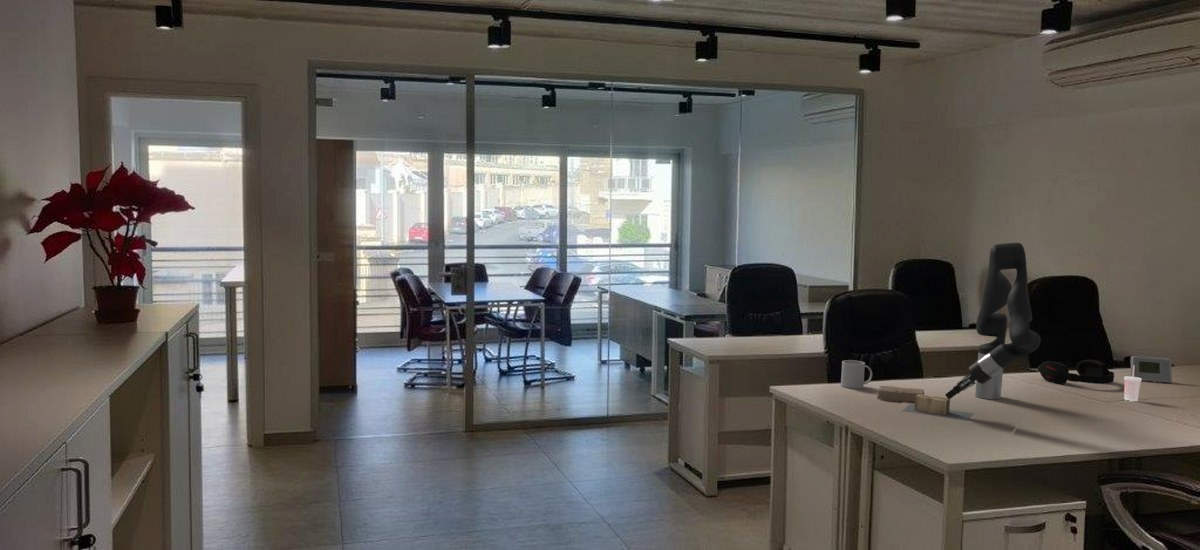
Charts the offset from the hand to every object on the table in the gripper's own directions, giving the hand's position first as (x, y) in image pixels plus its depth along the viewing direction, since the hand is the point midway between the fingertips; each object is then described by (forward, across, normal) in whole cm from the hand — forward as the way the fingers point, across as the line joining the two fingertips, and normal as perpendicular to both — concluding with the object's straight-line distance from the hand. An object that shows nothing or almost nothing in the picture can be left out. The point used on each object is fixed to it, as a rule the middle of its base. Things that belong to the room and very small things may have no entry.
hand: (947, 396), depth 315 cm
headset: (-14, -105, +23) cm, 109 cm away
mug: (+34, -22, -25) cm, 48 cm away
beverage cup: (-30, -79, +40) cm, 94 cm away
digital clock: (-32, -132, +41) cm, 142 cm away
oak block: (+2, 0, +3) cm, 4 cm away
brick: (+19, -12, -9) cm, 24 cm away
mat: (+6, 0, +2) cm, 7 cm away
